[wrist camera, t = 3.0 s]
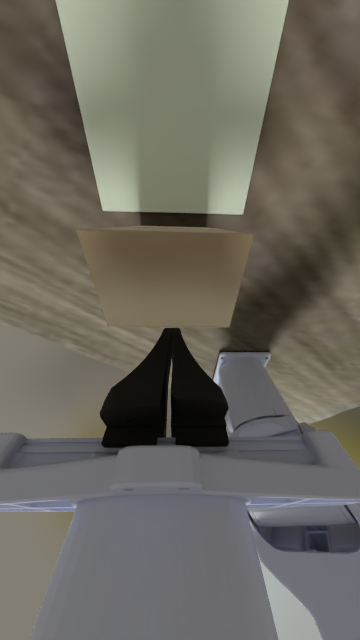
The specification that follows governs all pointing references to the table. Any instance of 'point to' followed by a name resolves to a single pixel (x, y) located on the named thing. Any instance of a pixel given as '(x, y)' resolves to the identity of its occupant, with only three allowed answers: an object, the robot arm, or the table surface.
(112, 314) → the birch block
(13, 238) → the table surface
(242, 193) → the mat
